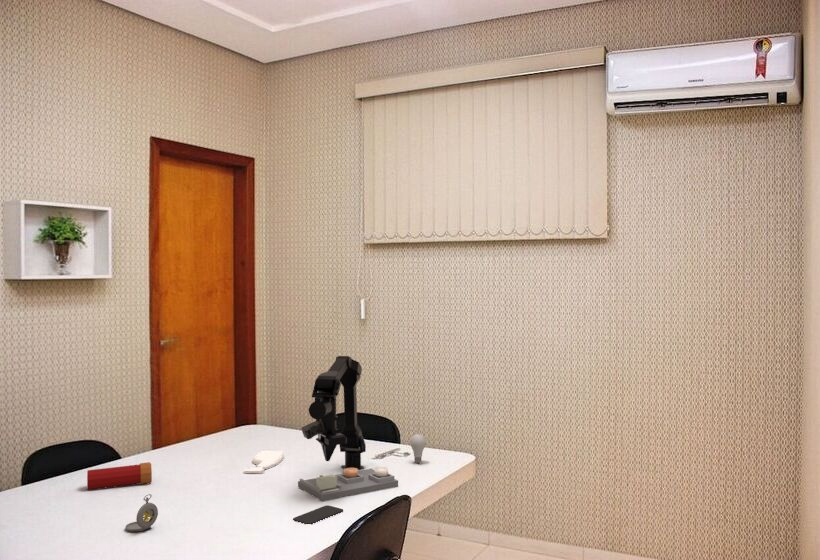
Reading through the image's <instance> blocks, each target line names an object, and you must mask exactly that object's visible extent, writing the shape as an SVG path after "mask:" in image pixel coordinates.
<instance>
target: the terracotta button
mask: <svg viewBox="0 0 820 560" xmlns="http://www.w3.org/2000/svg"><path fill="white" fill-rule="evenodd" d="M358 471H359V469H357V468H343V473H344V476H345V477H356V476H358Z"/></svg>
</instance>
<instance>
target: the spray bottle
mask: <svg viewBox="0 0 820 560" xmlns="http://www.w3.org/2000/svg"><path fill="white" fill-rule="evenodd" d="M284 459H285V452H284V451H283V450H262V451H260V452H258V453H257V454H256V455H255V456H254V457H252V463H254V464H253V465H255V464H256V466H255V467H253V468H251V467H250V466H249V467H248V469H243V472H242V473H243V474H265V469H266V470H269V469H271V468H273V467H276V466H278V465H279V464H280V463H282V461H284ZM275 465H276V466H275ZM270 467H271V468H270Z"/></svg>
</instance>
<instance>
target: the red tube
mask: <svg viewBox="0 0 820 560" xmlns="http://www.w3.org/2000/svg"><path fill="white" fill-rule="evenodd" d="M152 470H153V469H152V463H151V462H140V463H138V464H132V465H122V466H113V467H107V468H105V467H104V468H96V469H88V470H87V472H86V473H87V478H86V479H87V480H86V483H87V490H89V489H92V490H98V489H97V488H101V489H106V488H105V487H110V488H115V487H114V486H118V487H123V486H122V485H126V486H131V485H130V484H134V485H138V484H137V483H141V484H140V485H144V484H143V483H149V484H151V483H152V479H153V477H152V475H153V474H152V473H153V471H152ZM150 482H151V483H150ZM89 491H90V490H89Z"/></svg>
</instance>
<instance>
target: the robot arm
mask: <svg viewBox="0 0 820 560" xmlns="http://www.w3.org/2000/svg"><path fill="white" fill-rule="evenodd" d="M362 371H363V369H362V365H361V364H360V362H359V361H358V360H355V359H354V358H352V357H351V356H349V355H337V356H336V357H335V360H334V362H333V363H332V365H331V366H330V368H329V369H328V370H327V371H325V372H321V373H320V374H319V375H318V376H317V378H316V379H315V381H314V385H313V390H312V394H311V398H314V401H312V403H310V405H309V407H308V413H309V415H310V417H311V418H312V419H314V420H315V421H313V422H310V423H308V424H306V425H304V426H302V427H301V428H300V429H301V432H302V435H303V437H304V438H306V439H307V440H310V439H313V437H316V436H317V438H315V440H316V441H317V442H318V443H319V444H320V445H321V449H322V452H323V456H324V460H325V461H326V462H330V461H331V458H332V456H333V454H334V452H335V449H336V448H337V446H338V445H339V451H340V453H344V464H342V465H341V468H343V469H345V468H357V469H358V470H361V469H362V470H363V469H365V466H364V465H361V463H362V457H361V456H362V455H361V454H362V453H365V452H366V449H367V448H366V447H367V446H366V441H365V439H364V436H363V432H362V429H361V427H360V425H359V424H358V411H357V410H358V407H357V406H358V405H357V404H358V402H357V384H358V383H359V382H360V380H361V375H362ZM341 386H342V388H343V404H344V405H343V406H344V407H343V410H344V411H343V412H344V415H343V416H344V418H343V419H344V427H343V428H342V429H341V431H340V432H339V428H337V421H339V416H338V415H337V397H338V395H339V394H340V393H339V392H340V389H341Z"/></svg>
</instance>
